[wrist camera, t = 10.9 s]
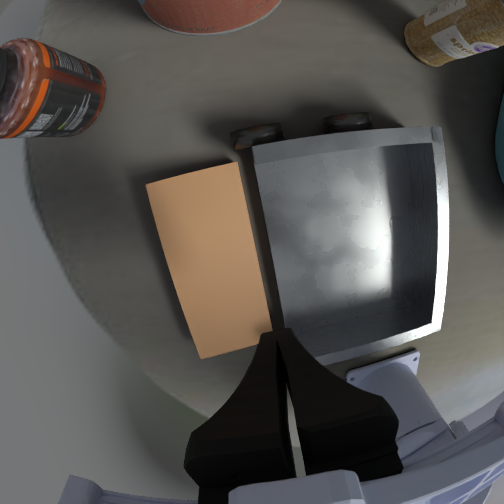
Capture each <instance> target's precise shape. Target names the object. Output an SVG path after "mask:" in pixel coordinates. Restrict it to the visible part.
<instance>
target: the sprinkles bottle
mask: <svg viewBox="0 0 504 504" xmlns="http://www.w3.org/2000/svg"><path fill="white" fill-rule="evenodd" d="M404 36H405V41H406V44H407V46H408V47H409V49H410V51H411V52H412V53H413V54H414V55H415V56H416V58H418V59H419V60H420V61H421V62H423V63H424V64H427V65H429V66H432V67H439V66H442V65H444V64H445V63H447V62H449V61H453V60H455V59H460V58H465V57H468V56H471V55H474V54H478V53H481V52H484V51H488V50H491V49H495V48H498V47H500V46H503V45H504V0H444V1H443V2H441V3H439V4H438V5H436V6H434V7H433V8H431V9H430V10H428V11H427V12H426V13H425V14H424V15H422V16H421V17H419V18H418V19H416V20H412V21H410V22H408V23H407V25H406V27H405V30H404Z"/></svg>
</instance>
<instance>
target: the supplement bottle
mask: <svg viewBox="0 0 504 504" xmlns="http://www.w3.org/2000/svg"><path fill="white" fill-rule="evenodd" d="M105 90H106V88H105V81H104V78H103V76H102V74H101V72H100V71H99V70H98V69H97V68H96V67H94V66H93V65H91V64H89V63H87V62H85V61H83V60H81V59H78V58H76V57H74V56H71V55H69V54H67V53H65V52H62V51H60V50H57V49H55V48H53V47H50V46H48V45H45V44H43V43H41V42H37V41H35V40H32V39H28V38H18V39H13V40H11V41H9V42H7V43H5V44H3V45H2V46H1V47H0V139H3V138H23V137H67V136H73V135H77V134H79V133H81V132H83V131H84V130H86V129H87V128H88V127H89V126H90V125H91V124H92V123H93V122H94V121H95V119H96V118H97V116H98V115H99V113H100V111H101V109H102V106H103V103H104V99H105Z"/></svg>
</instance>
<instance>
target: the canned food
mask: <svg viewBox="0 0 504 504" xmlns="http://www.w3.org/2000/svg"><path fill="white" fill-rule="evenodd" d="M137 1H138V2H139V3H140V5H141V6H142V8H143V10H144V12H145V13H146V15H147V16H148V17H149V18H150V19H151V20H152V21H153V22H154V23H155V24H157V25H158V26H160V27H162V28H164V29H166V30H169V31H172V32H175V33H179V34H184V35H192V36H212V35H220V34H226V33H230V32H234V31H237V30H241V29H243V28H246V27H249V26H251V25H253V24H255V23H257V22H259V21H260V20H262V19H264V18H265V17H267V16H268V15H269V14H270V13H272V12H273V11H274V10H275V9H276V8H277V7H278V5H279V4H280V3H281V1H282V0H137Z"/></svg>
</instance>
